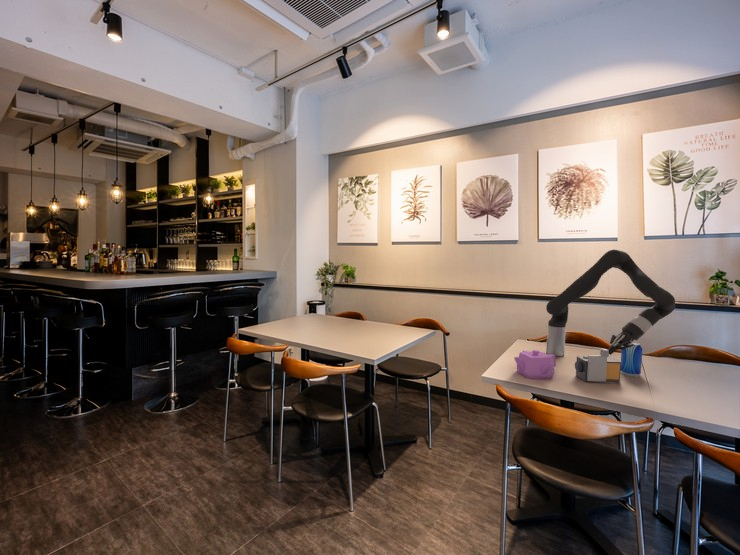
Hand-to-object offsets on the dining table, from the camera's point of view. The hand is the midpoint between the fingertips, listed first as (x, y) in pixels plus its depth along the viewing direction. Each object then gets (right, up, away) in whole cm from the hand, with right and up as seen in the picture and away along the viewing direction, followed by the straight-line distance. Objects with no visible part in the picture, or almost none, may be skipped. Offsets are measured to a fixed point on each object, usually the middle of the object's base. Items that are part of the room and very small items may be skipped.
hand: (607, 353), depth 164 cm
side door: (-5, -13, +1) cm, 14 cm away
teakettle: (-29, -14, +11) cm, 34 cm away
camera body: (-1, -14, +6) cm, 15 cm away
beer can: (+21, -14, +14) cm, 28 cm away
